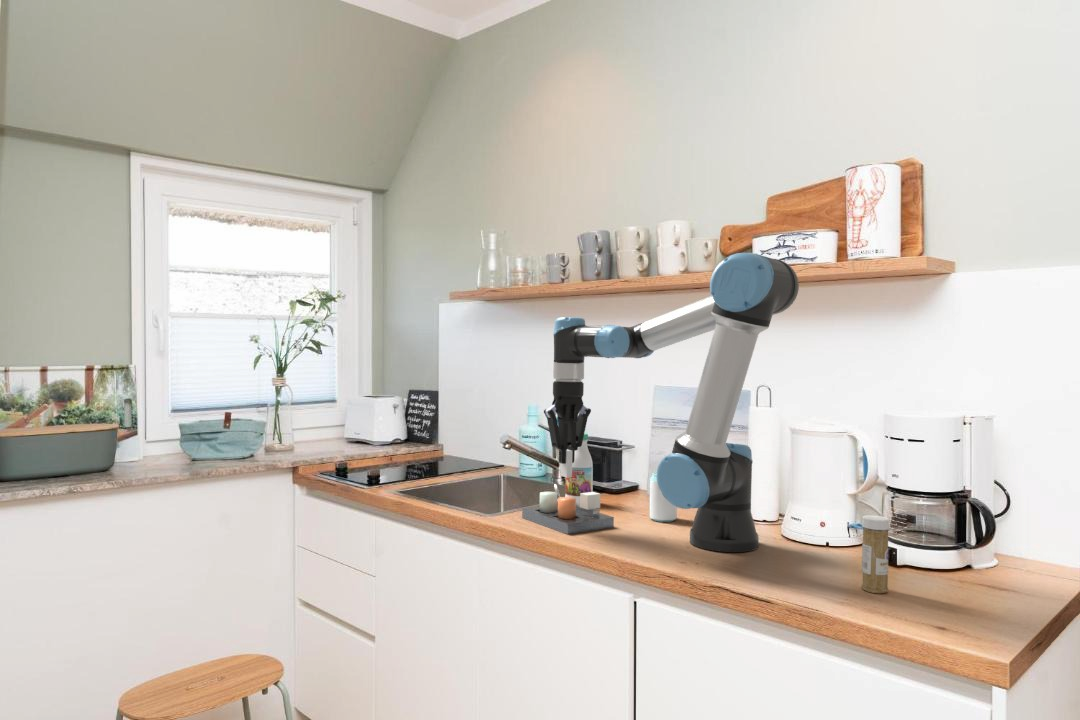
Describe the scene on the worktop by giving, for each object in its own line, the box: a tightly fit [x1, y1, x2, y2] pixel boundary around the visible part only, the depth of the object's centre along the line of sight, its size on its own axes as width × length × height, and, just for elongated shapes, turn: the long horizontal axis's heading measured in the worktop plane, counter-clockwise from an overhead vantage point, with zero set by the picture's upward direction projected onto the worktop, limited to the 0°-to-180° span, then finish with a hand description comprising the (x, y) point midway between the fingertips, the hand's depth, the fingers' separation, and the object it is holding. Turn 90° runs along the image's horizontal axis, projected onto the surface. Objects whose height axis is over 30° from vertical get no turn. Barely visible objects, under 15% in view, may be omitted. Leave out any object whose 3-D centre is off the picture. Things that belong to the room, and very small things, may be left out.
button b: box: [539, 491, 557, 513], centre depth 185 cm, size 4×4×4 cm
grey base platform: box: [521, 483, 615, 535], centre depth 183 cm, size 21×14×8 cm
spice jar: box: [861, 514, 891, 594], centre depth 133 cm, size 5×5×13 cm
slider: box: [580, 491, 601, 510], centre depth 181 cm, size 3×4×4 cm
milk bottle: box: [564, 432, 594, 504], centre depth 206 cm, size 8×8×20 cm
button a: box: [558, 496, 576, 519], centre depth 178 cm, size 4×4×4 cm
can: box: [648, 471, 678, 523], centre depth 188 cm, size 7×7×12 cm
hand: (566, 476), depth 178 cm, fingers closed
